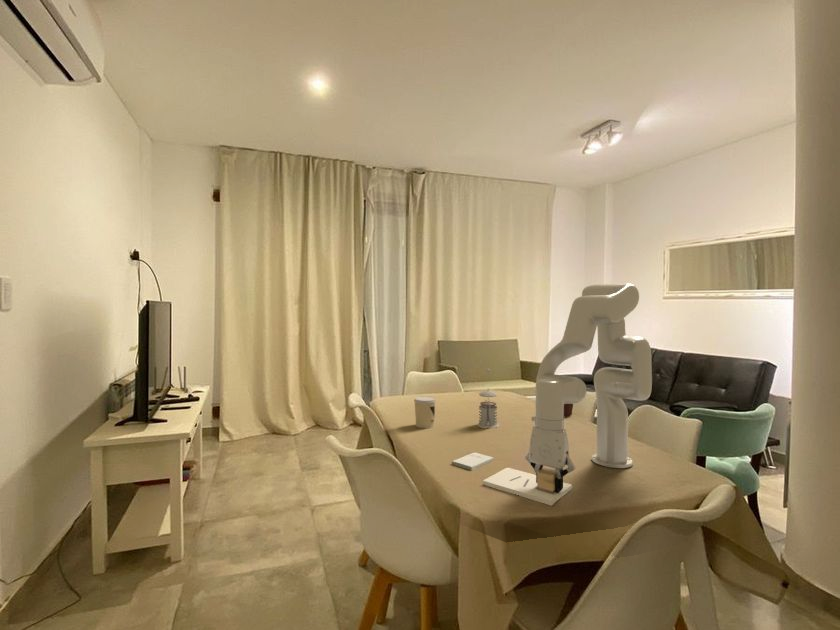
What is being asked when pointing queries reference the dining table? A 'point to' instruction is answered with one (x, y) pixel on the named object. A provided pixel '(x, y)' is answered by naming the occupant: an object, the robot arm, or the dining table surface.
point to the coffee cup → (424, 411)
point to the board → (523, 485)
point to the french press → (488, 411)
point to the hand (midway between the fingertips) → (549, 488)
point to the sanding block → (546, 480)
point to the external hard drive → (472, 461)
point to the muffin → (568, 409)
